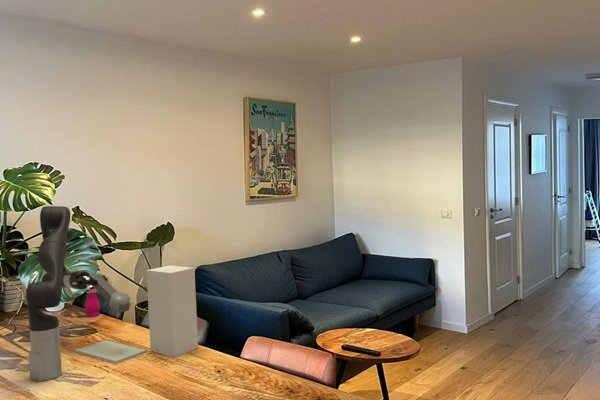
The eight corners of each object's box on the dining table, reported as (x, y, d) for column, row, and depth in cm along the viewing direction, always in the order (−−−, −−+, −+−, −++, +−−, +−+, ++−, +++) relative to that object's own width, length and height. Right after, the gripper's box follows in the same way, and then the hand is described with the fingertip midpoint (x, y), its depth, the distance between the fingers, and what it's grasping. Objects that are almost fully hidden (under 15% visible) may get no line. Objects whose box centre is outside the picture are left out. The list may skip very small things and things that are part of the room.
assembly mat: (115, 363, 198) (115, 361, 198) (75, 352, 213) (75, 349, 213) (146, 352, 209) (146, 350, 209) (105, 342, 224) (105, 340, 224)
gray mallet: (116, 313, 204) (119, 304, 202) (85, 282, 214) (87, 273, 213) (131, 309, 209) (134, 301, 208) (100, 279, 220) (102, 271, 219)
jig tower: (175, 357, 203) (170, 273, 201) (150, 351, 211) (146, 270, 209) (198, 347, 213) (194, 267, 211) (174, 342, 221) (170, 265, 219)
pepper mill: (97, 317, 266) (94, 277, 265) (82, 317, 266) (80, 277, 265) (102, 313, 273) (100, 274, 272) (88, 314, 274) (86, 275, 273)
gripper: (60, 273, 218) (85, 275, 208) (91, 268, 229) (116, 269, 220) (61, 291, 218) (86, 294, 208) (92, 285, 230) (117, 287, 220)
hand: (101, 281), depth 214 cm, fingers closed on gray mallet, 4 cm apart
